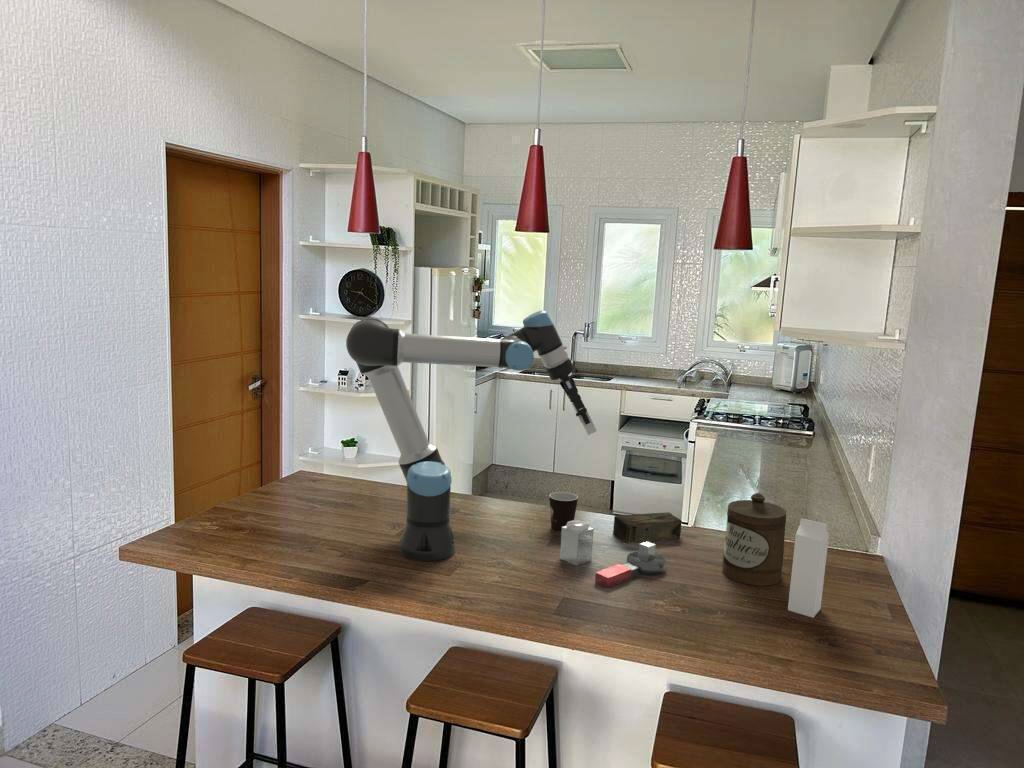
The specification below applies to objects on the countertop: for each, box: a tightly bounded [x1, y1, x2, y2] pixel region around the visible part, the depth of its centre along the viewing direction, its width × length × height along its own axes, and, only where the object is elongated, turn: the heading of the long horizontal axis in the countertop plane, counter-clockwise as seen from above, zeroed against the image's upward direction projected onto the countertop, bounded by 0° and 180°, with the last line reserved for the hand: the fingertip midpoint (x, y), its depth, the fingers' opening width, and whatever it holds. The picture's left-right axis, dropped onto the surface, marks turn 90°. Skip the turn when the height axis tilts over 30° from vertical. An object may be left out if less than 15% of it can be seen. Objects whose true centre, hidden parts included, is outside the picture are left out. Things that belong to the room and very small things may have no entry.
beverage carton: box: [612, 511, 683, 544], centre depth 224 cm, size 8×19×7 cm, turn 110°
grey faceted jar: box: [559, 519, 594, 567], centre depth 204 cm, size 6×6×10 cm
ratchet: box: [594, 541, 667, 589], centre depth 196 cm, size 23×10×6 cm, turn 133°
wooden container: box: [721, 492, 787, 587], centre depth 198 cm, size 15×15×22 cm
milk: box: [787, 518, 830, 618], centre depth 178 cm, size 6×6×22 cm
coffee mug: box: [548, 491, 579, 533], centre depth 229 cm, size 12×9×10 cm
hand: (588, 426), depth 221 cm, fingers open, 13 cm apart
